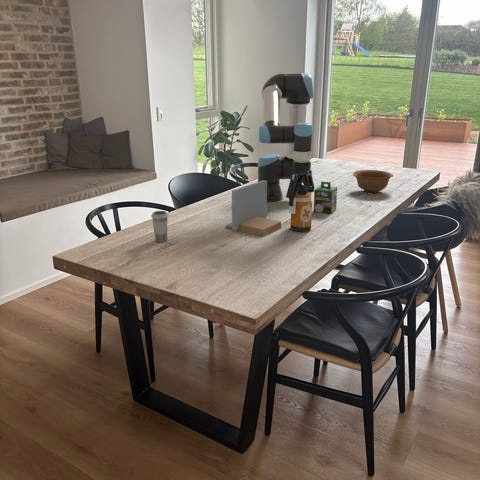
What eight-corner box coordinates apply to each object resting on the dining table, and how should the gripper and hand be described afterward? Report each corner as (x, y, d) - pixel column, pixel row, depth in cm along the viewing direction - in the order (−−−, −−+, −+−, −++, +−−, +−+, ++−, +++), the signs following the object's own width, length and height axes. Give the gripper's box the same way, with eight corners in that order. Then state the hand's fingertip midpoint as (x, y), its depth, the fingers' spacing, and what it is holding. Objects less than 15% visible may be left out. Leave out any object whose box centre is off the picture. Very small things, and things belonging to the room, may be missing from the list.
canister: (297, 233, 209) (299, 188, 202) (283, 226, 218) (285, 182, 211) (315, 230, 213) (317, 185, 206) (300, 223, 222) (302, 180, 215)
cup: (161, 244, 197) (160, 216, 193) (149, 241, 200) (147, 213, 196) (173, 239, 202) (171, 211, 198) (160, 236, 206) (159, 209, 202)
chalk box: (336, 209, 244) (338, 180, 239) (331, 214, 236) (333, 184, 231) (318, 207, 248) (320, 178, 243) (312, 212, 240) (314, 182, 235)
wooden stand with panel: (223, 228, 215) (222, 188, 209) (254, 216, 233) (254, 179, 227) (260, 237, 204) (261, 195, 198) (290, 223, 222) (291, 184, 216)
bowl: (348, 195, 271) (349, 175, 267) (355, 186, 290) (356, 168, 286) (389, 198, 263) (391, 178, 259) (393, 189, 282) (395, 170, 278)
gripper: (294, 166, 194) (292, 217, 200) (323, 157, 213) (321, 205, 219) (278, 164, 198) (277, 214, 205) (308, 156, 217) (306, 202, 224)
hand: (300, 209), depth 212 cm, fingers open, 13 cm apart
